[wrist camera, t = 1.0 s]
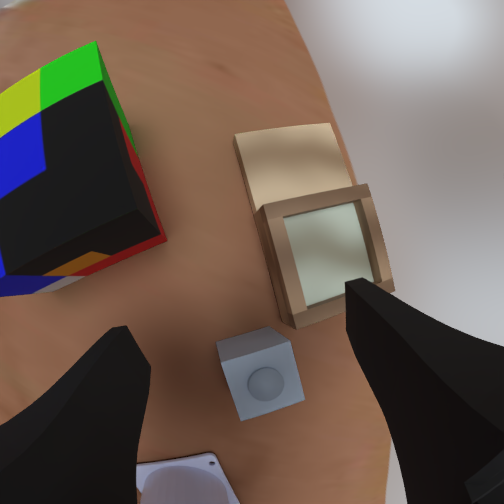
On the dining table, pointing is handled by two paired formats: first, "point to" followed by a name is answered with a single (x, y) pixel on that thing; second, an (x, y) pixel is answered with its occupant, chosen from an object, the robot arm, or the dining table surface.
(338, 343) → the dining table surface
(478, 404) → the robot arm
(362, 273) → the socket block
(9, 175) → the puzzle toy
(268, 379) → the stud block
